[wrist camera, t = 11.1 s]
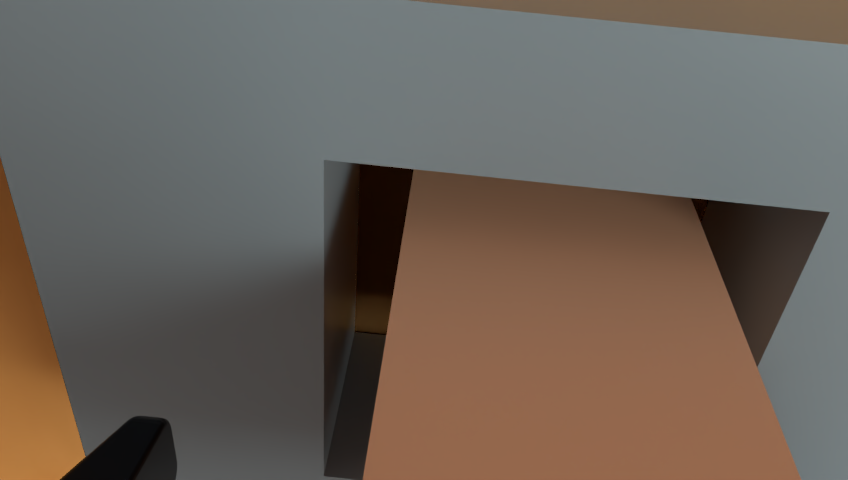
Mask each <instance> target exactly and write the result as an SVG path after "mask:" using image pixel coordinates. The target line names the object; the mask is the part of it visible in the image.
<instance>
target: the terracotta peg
mask: <svg viewBox="0 0 848 480" xmlns="http://www.w3.org/2000/svg"><path fill="white" fill-rule="evenodd" d="M363 480H801V478H800V475H799V473H798V470H797V468H796V465H795V462H794V460H793V457H792V455H791V452H790V450H789V447H788V445H787V442H786V440H785V437H784V434H783V432H782V429H781V427H780V424H779V422H778V419H777V417H776V414H775V411H774V409H773V406H772V404H771V401H770V399H769V396H768V394H767V391H766V389H765V386H764V383H763V381H762V378H761V376H760V373H759V371H758V368H757V366H756V363H755V360H754V358H753V355H752V353H751V350H750V348H749V345H748V343H747V340H746V337H745V335H744V332H743V330H742V327H741V325H740V322H739V320H738V317H737V315H736V312H735V309H734V307H733V304H732V302H731V299H730V297H729V294H728V292H727V289H726V286H725V284H724V281H723V279H722V276H721V274H720V271H719V269H718V266H717V263H716V261H715V258H714V256H713V253H712V251H711V248H710V246H709V243H708V241H707V238H706V235H705V233H704V230H703V228H702V225H701V223H700V220H699V218H698V215H697V212H696V210H695V207H694V205H693V202H692V200H691V198H686V197H677V196H667V195H657V194H648V193H638V192H628V191H619V190H609V189H600V188H590V187H580V186H571V185H561V184H551V183H542V182H532V181H522V180H513V179H503V178H493V177H484V176H474V175H464V174H455V173H445V172H436V171H426V170H416V169H414V171H413V177H412V183H411V189H410V195H409V201H408V207H407V213H406V219H405V225H404V231H403V237H402V244H401V250H400V256H399V262H398V268H397V274H396V280H395V286H394V292H393V298H392V304H391V310H390V317H389V323H388V329H387V335H386V341H385V347H384V353H383V359H382V365H381V371H380V377H379V383H378V390H377V396H376V402H375V408H374V414H373V420H372V426H371V432H370V438H369V444H368V450H367V456H366V462H365V469H364V475H363Z"/></svg>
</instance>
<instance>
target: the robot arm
mask: <svg viewBox="0 0 848 480" xmlns="http://www.w3.org/2000/svg"><path fill="white" fill-rule="evenodd" d="M176 475H177V457H176V451H175V446H174V440H173V434H172V429H171V425H170V423H169V421H168V420H167V419H165V418H159V417H150V416H135V417H132V418H130V419H129V420H128V421H126V422H125V423H124V424H123V425H122V426H121V427H120V428H118V429H117V430H116V431H115V432H114V433H113V434H112V435H110V436H109V437H108V438H107V439H106V440H105V441H104V442H102V443H101V444H100V445H99V446H98V447H97V448H95V449H94V450H93V451H92V452H91V453H90V454H89V455H87V456H86V457H85V458H84V459H83V460H82V461H81V462H79V463H78V464H77V465H76V466H75V467H74V468H73V469H71V470H70V471H69V472H68V473H67V474H66V475H65V476H63V477H62V478H61V479H60V480H176Z"/></svg>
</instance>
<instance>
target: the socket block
mask: <svg viewBox="0 0 848 480" xmlns="http://www.w3.org/2000/svg"><path fill="white" fill-rule="evenodd" d="M0 158H1V161H2V165H3V168H4V172H5V175H6V179H7V182H8V186H9V189H10V193H11V196H12V200H13V203H14V207H15V210H16V214H17V217H18V221H19V224H20V228H21V231H22V235H23V238H24V242H25V245H26V249H27V252H28V256H29V259H30V263H31V266H32V270H33V273H34V277H35V280H36V284H37V287H38V291H39V294H40V298H41V301H42V305H43V308H44V312H45V315H46V319H47V322H48V326H49V329H50V333H51V337H52V340H53V344H54V347H55V351H56V354H57V358H58V361H59V365H60V368H61V372H62V375H63V379H64V382H65V386H66V389H67V393H68V396H69V400H70V403H71V407H72V410H73V414H74V417H75V421H76V424H77V428H78V431H79V435H80V438H81V442H82V445H83V449H84V452H85V456H87V455H89V454H90V453H91V452H92V451H93V450H94V449H95V448H97V447H98V446H99V445H100V444H101V443H102V442H104V441H105V440H106V439H107V438H108V437H109V436H110V435H112V434H113V433H114V432H115V431H116V430H117V429H118V428H120V427H121V426H122V425H123V424H124V423H125V422H126V421H128V420H129V419H130V418H132V417H135V416H150V417H159V418H165V419H167V420H168V421H169V423H170V425H171V429H172V434H173V440H174V446H175V451H176V457H177V475H176V480H363V475H364V469H365V462H366V456H367V450H368V444H369V438H370V432H371V426H372V420H373V414H374V408H375V402H376V396H377V390H378V383H379V377H380V371H381V365H382V359H383V353H384V347H385V341H386V335H379V334H369V333H360V332H355V308H356V277H357V246H358V215H359V184H360V164H368V165H378V166H387V167H397V168H407V169H416V170H426V171H436V172H445V173H455V174H464V175H474V176H484V177H493V178H503V179H513V180H522V181H532V182H542V183H551V184H561V185H571V186H580V187H590V188H600V189H609V190H619V191H628V192H638V193H648V194H657V195H667V196H677V197H686V198H696V199H706V200H709V202H708V205H707V208H706V210H705V213H704V216H703V219H702V222H701V225H702V228H703V230H704V233H705V235H706V238H707V241H708V243H709V246H710V248H711V251H712V253H713V256H714V258H715V261H716V263H717V266H718V269H719V271H720V274H721V276H722V279H723V281H724V284H725V286H726V289H727V292H728V294H729V297H730V299H731V302H732V304H733V307H734V309H735V312H736V315H737V317H738V320H739V322H740V325H741V327H742V330H743V332H744V335H745V337H746V340H747V343H748V345H749V348H750V350H751V353H752V355H753V358H754V360H755V363H756V366H757V368H758V371H759V373H760V376H761V378H762V381H763V383H764V386H765V389H766V391H767V394H768V396H769V399H770V401H771V404H772V406H773V409H774V411H775V414H776V417H777V419H778V422H779V424H780V427H781V429H782V432H783V434H784V437H785V440H786V442H787V445H788V447H789V450H790V452H791V455H792V457H793V460H794V462H795V465H796V468H797V470H798V473H799V475H800V478H801V480H848V0H0Z"/></svg>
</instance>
